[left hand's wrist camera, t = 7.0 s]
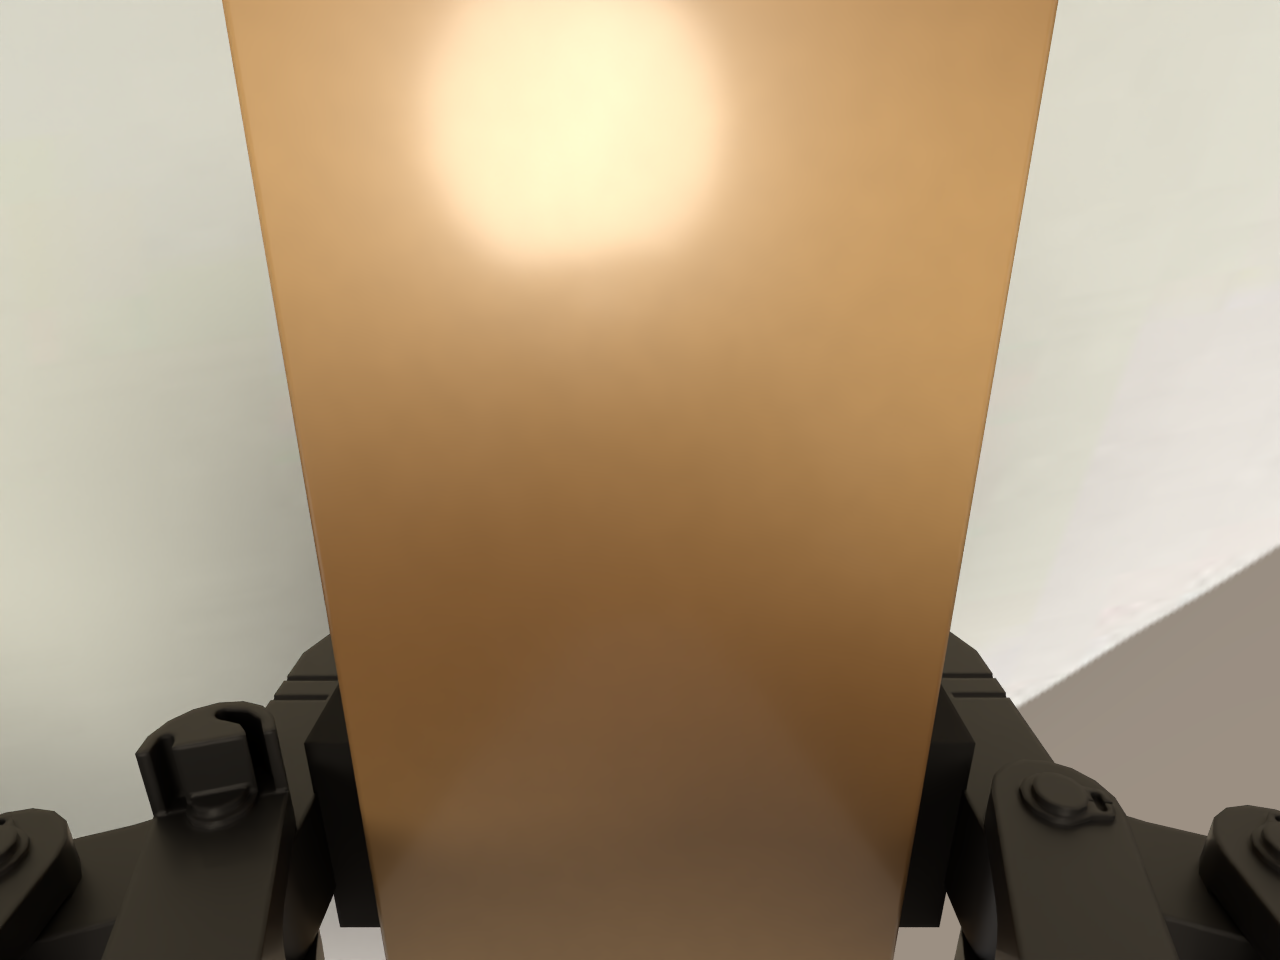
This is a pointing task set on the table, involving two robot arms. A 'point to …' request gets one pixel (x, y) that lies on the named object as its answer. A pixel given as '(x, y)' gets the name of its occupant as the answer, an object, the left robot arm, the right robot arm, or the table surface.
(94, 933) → the left robot arm
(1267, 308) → the table surface
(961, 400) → the bar
